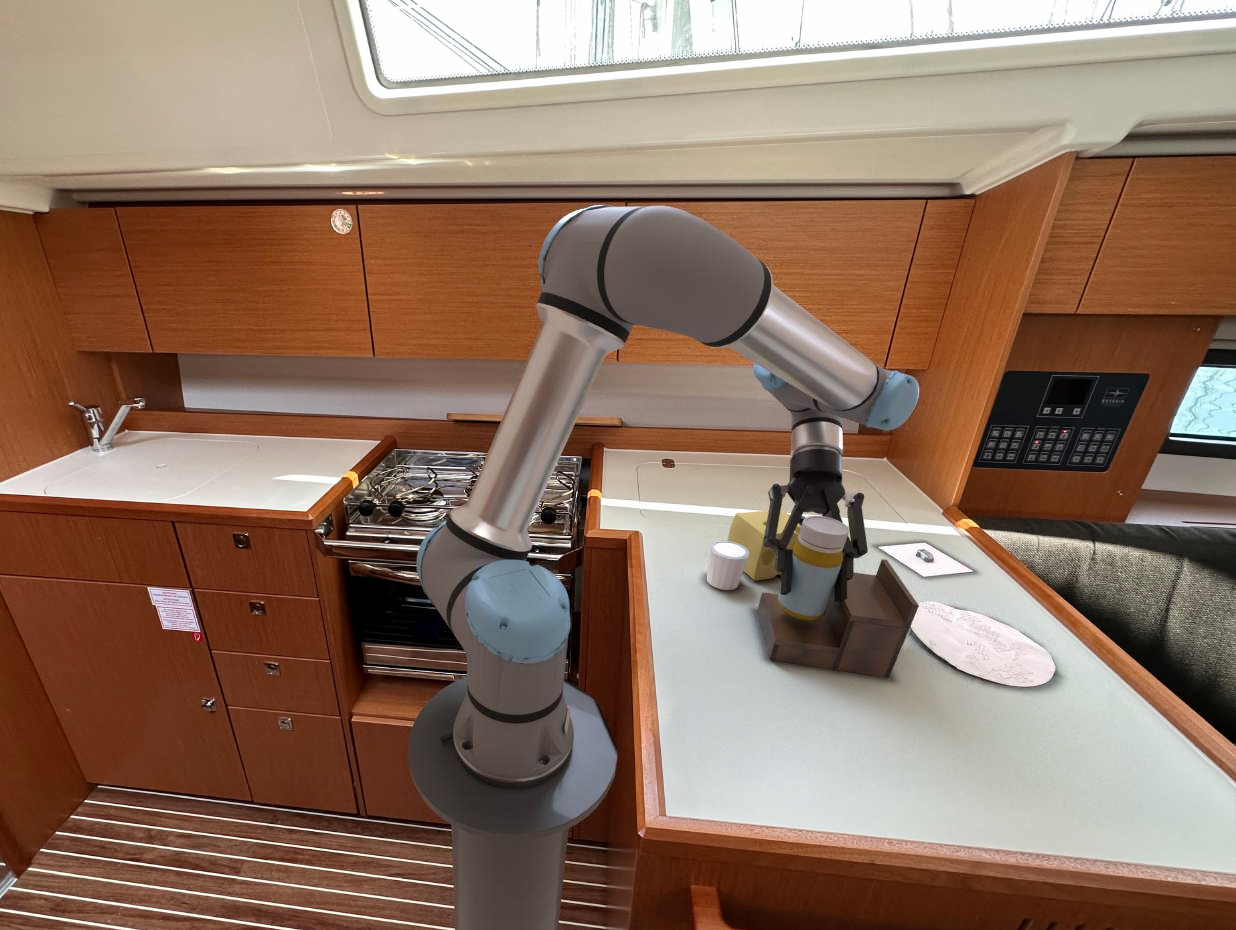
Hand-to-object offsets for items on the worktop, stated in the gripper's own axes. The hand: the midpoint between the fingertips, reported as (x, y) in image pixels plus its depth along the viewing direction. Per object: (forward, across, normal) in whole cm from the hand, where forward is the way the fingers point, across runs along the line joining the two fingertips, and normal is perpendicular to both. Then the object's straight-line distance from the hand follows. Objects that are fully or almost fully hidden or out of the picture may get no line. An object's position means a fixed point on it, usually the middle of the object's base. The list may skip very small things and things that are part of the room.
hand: (813, 596), depth 87 cm
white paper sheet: (-20, -33, -34) cm, 51 cm away
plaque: (+1, -30, -14) cm, 33 cm away
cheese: (-11, +1, -26) cm, 28 cm away
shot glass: (-6, +9, -20) cm, 23 cm away
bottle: (+1, 0, -6) cm, 6 cm away
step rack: (+5, -5, -10) cm, 12 cm away
